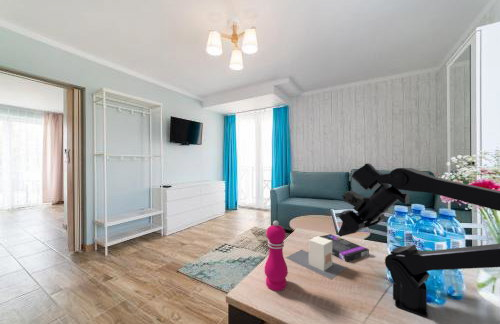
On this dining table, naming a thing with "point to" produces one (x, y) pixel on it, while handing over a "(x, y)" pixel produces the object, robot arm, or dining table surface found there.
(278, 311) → the dining table surface
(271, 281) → the pepper mill
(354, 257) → the box
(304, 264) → the mat
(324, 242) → the block
